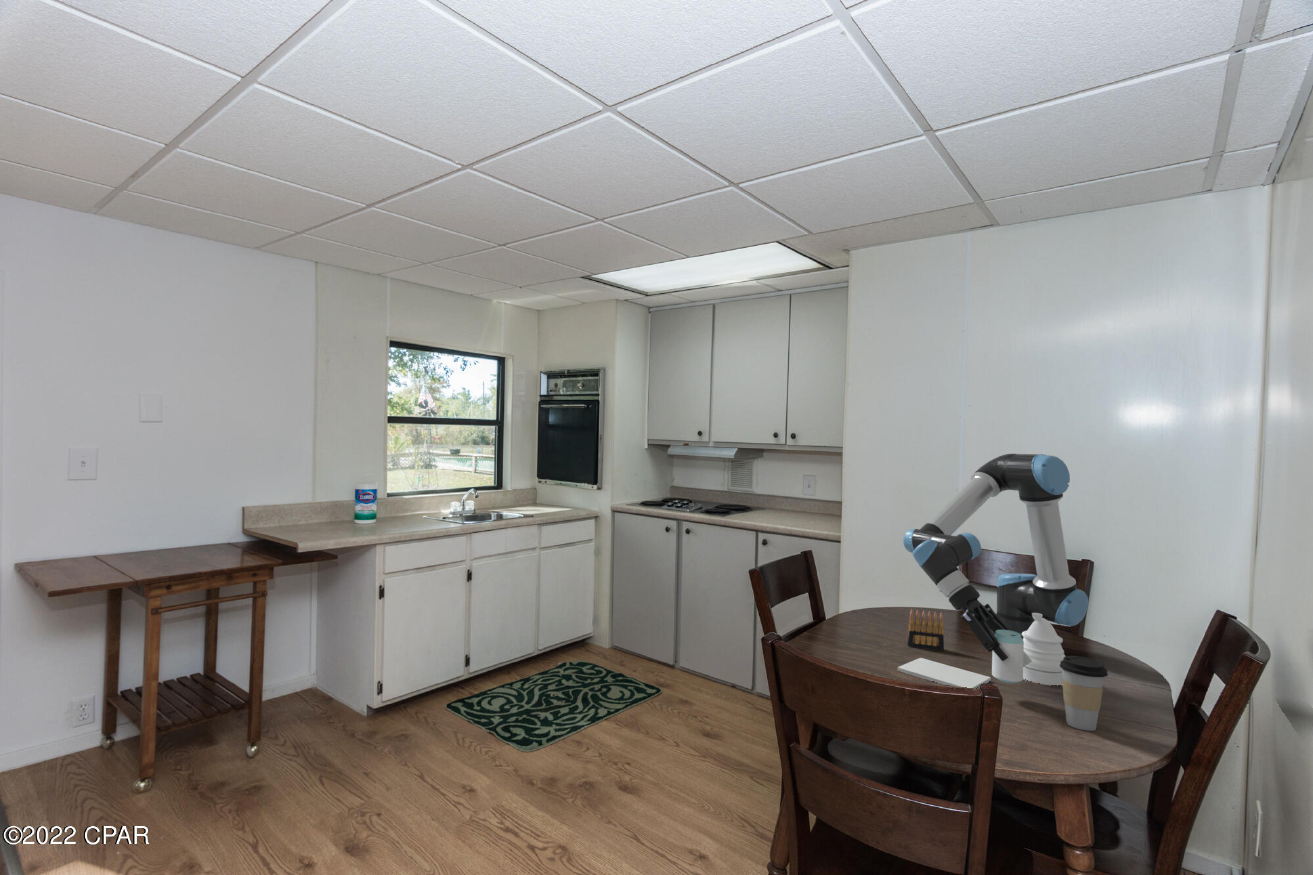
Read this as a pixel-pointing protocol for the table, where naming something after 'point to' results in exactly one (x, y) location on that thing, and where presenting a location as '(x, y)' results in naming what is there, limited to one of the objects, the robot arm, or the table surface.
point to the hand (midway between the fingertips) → (1022, 667)
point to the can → (1016, 649)
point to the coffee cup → (1082, 691)
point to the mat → (943, 673)
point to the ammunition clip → (926, 631)
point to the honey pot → (1043, 653)
